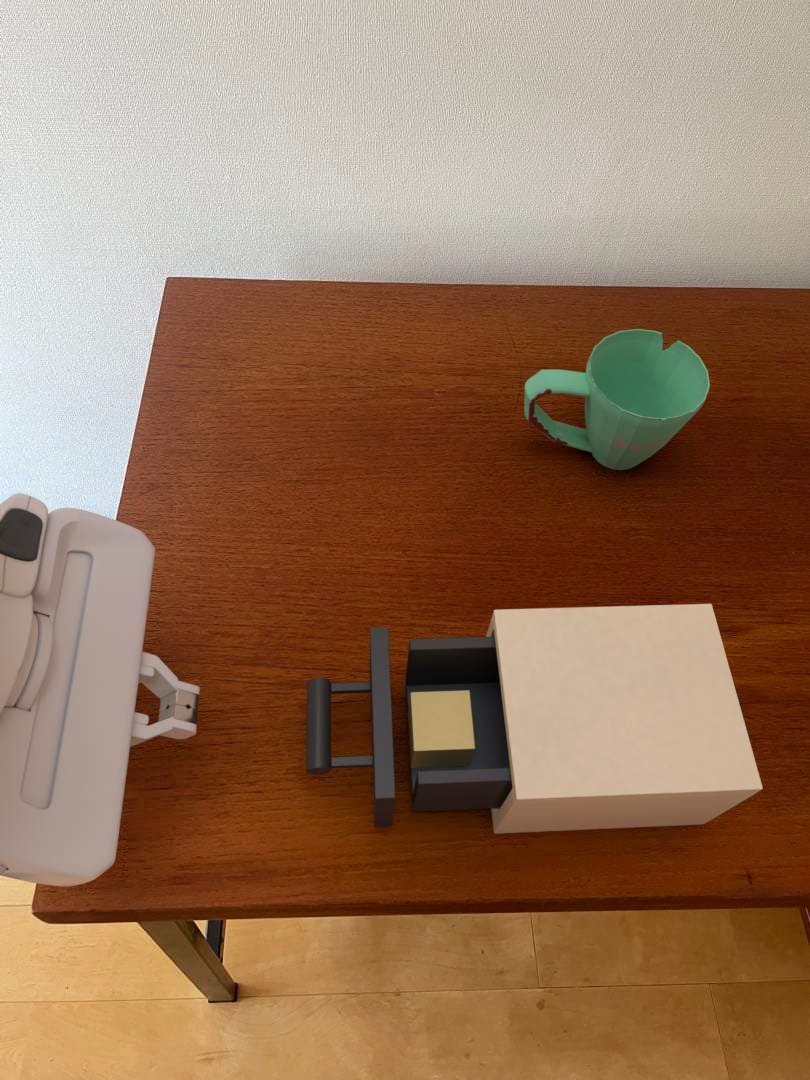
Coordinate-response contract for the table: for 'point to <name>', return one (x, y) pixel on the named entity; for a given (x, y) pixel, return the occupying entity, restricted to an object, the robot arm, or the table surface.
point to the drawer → (427, 671)
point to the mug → (624, 397)
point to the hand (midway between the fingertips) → (192, 713)
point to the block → (440, 729)
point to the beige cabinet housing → (618, 718)
